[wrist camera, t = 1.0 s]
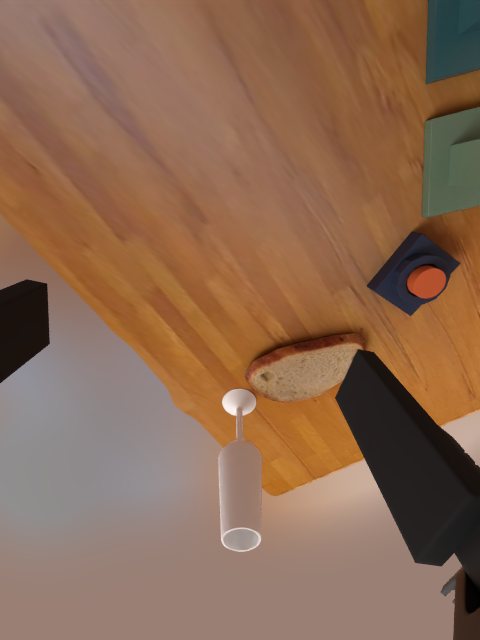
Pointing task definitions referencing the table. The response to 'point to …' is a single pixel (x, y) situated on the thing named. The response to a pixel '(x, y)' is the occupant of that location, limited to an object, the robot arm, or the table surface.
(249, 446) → the champagne flute
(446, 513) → the robot arm
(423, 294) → the button
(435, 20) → the low stand
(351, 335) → the bread slice
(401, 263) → the push button switch
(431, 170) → the stand
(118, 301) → the table surface
